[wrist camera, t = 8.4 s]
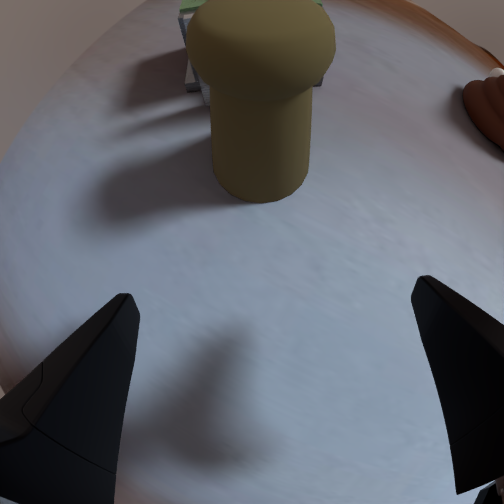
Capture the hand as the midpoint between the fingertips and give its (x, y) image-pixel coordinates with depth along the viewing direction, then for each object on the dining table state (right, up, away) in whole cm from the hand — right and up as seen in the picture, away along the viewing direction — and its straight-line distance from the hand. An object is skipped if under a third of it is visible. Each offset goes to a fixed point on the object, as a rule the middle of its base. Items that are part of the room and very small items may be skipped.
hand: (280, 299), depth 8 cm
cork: (0, +7, +9) cm, 11 cm away
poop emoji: (+24, +14, +10) cm, 30 cm away
